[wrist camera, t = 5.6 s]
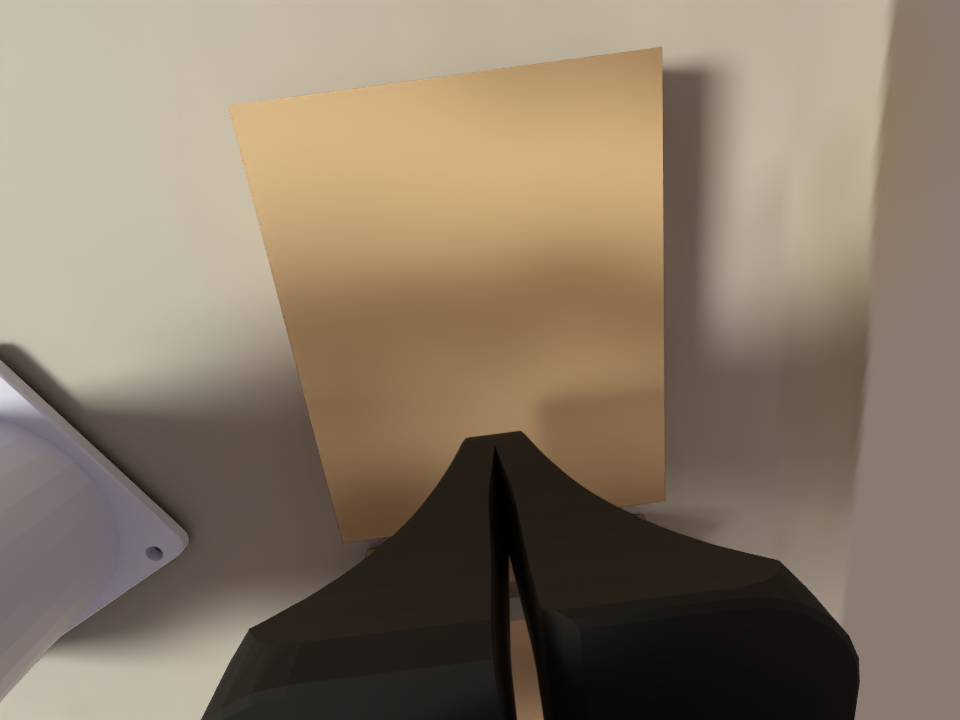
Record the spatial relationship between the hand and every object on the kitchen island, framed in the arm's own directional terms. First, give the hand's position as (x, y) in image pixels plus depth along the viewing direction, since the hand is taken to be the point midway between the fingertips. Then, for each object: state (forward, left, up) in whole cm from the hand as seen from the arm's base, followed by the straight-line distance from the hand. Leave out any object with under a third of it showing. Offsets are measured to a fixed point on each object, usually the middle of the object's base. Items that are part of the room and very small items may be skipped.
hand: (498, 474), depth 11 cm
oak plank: (+1, +2, -4) cm, 5 cm away
